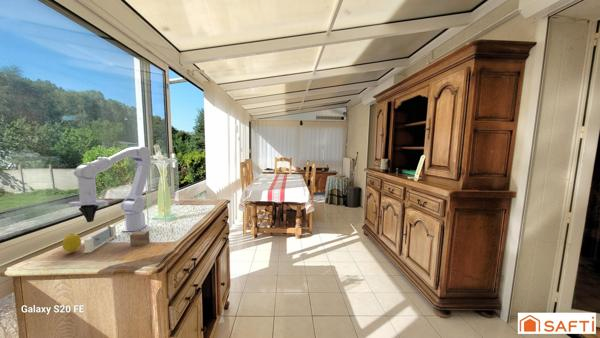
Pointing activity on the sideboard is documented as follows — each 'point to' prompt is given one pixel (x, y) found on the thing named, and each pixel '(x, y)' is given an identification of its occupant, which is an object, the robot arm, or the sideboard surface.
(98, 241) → the door
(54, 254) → the sideboard surface
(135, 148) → the robot arm
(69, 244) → the lemon
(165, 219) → the sideboard surface
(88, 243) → the white bracket
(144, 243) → the brown block
